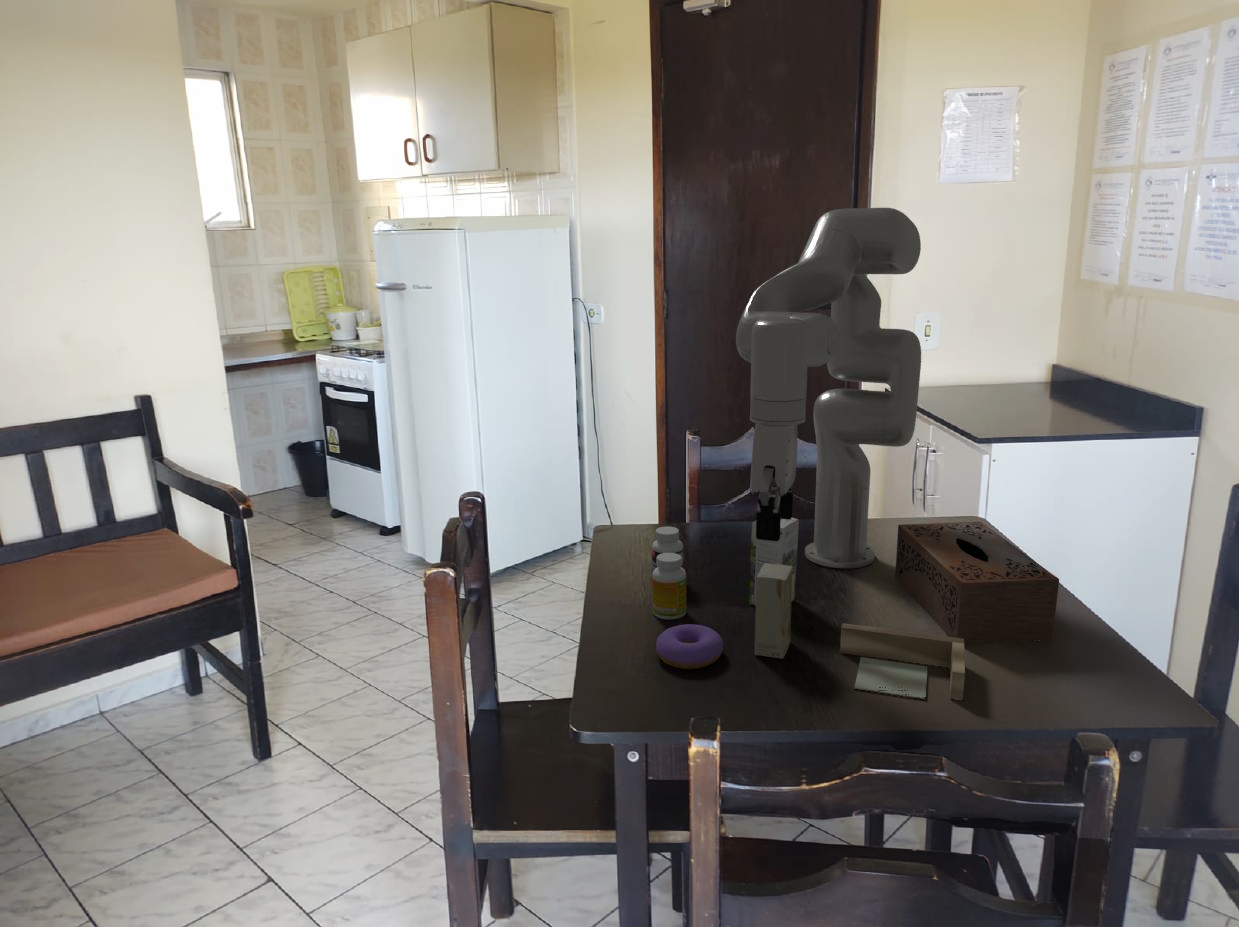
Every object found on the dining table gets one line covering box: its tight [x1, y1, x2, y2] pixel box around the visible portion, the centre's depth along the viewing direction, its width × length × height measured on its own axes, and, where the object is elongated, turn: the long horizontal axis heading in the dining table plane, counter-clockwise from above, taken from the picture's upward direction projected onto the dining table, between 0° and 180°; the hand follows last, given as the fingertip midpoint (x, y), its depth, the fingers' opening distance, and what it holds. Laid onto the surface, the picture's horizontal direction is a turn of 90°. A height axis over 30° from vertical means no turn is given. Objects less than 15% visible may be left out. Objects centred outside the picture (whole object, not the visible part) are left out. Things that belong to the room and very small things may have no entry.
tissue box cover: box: [894, 521, 1060, 645], centre depth 140 cm, size 26×14×10 cm, turn 3°
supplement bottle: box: [651, 553, 687, 621], centre depth 140 cm, size 5×5×10 cm
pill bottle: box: [651, 526, 684, 576], centre depth 152 cm, size 5×5×10 cm
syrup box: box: [748, 517, 800, 607], centre depth 142 cm, size 6×6×14 cm
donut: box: [655, 623, 724, 670], centre depth 127 cm, size 10×9×5 cm
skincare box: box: [754, 563, 792, 659], centre depth 127 cm, size 6×4×12 cm
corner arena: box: [839, 622, 966, 700], centre depth 120 cm, size 12×16×4 cm
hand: (774, 528), depth 124 cm, fingers open, 9 cm apart
